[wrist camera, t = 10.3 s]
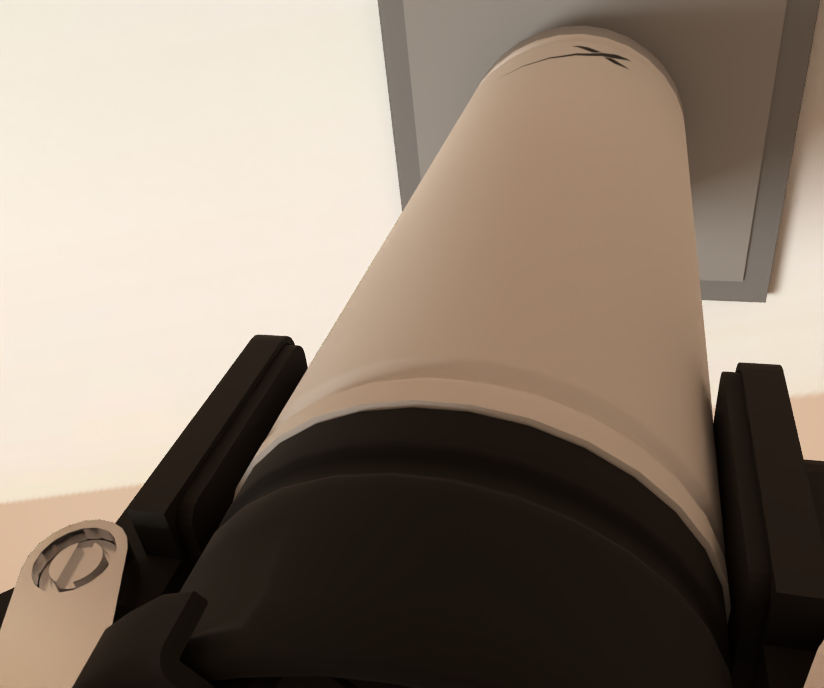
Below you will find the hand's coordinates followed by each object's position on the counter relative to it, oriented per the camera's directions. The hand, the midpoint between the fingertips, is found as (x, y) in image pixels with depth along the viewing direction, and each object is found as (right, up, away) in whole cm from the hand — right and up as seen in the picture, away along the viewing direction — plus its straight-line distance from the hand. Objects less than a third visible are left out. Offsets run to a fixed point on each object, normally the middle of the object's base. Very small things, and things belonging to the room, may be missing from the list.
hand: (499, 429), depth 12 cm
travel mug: (+3, +8, +11) cm, 14 cm away
